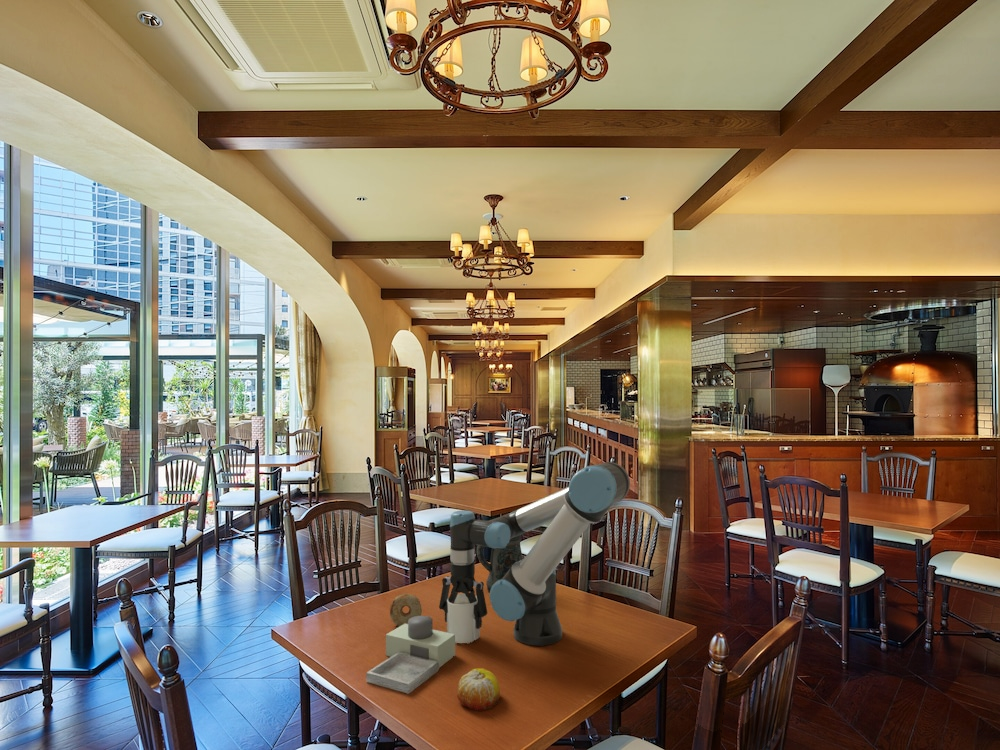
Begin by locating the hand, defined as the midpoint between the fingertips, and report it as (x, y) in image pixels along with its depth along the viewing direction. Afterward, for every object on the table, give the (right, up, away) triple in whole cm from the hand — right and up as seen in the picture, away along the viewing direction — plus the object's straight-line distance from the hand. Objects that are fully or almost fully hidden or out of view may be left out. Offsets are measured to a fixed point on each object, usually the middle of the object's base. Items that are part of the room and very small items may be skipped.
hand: (463, 635), depth 173 cm
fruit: (+6, +1, -36) cm, 36 cm away
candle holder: (0, -1, 0) cm, 1 cm away
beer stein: (+13, -3, +43) cm, 45 cm away
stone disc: (-19, -2, +10) cm, 22 cm away
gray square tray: (-14, 0, -23) cm, 28 cm away
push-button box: (-12, 0, -11) cm, 16 cm away
